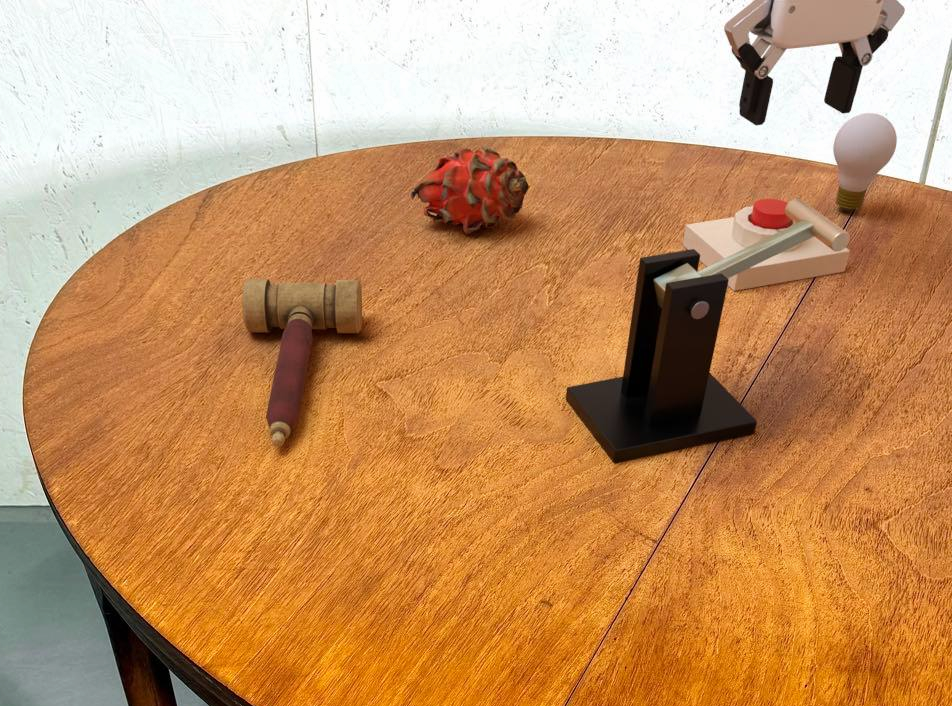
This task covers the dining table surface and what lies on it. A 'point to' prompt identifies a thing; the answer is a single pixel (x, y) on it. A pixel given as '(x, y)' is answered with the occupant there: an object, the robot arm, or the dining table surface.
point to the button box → (788, 265)
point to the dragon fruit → (473, 189)
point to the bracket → (665, 371)
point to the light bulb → (861, 156)
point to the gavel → (297, 335)
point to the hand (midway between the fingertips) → (794, 113)
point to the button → (770, 214)
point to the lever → (765, 247)
